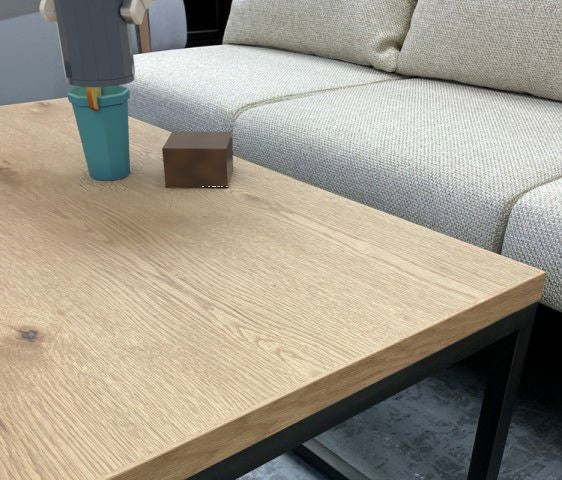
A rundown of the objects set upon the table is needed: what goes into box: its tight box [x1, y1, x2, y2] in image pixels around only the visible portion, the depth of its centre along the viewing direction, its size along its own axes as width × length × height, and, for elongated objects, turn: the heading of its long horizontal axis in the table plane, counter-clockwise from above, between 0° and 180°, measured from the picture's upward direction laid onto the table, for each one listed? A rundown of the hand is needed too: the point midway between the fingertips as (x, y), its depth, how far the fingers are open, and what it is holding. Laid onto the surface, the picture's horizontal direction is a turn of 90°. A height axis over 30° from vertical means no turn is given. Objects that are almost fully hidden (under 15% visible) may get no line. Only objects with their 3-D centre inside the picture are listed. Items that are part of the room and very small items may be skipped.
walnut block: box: [161, 130, 234, 188], centre depth 91 cm, size 8×8×5 cm
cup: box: [66, 85, 131, 181], centre depth 91 cm, size 14×8×15 cm, turn 17°
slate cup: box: [53, 0, 136, 87], centre depth 65 cm, size 6×6×10 cm
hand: (89, 18), depth 64 cm, fingers closed on slate cup, 6 cm apart
